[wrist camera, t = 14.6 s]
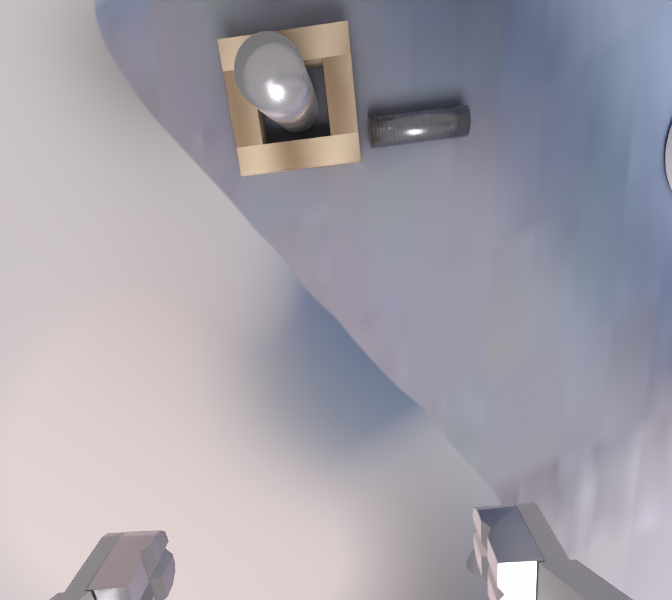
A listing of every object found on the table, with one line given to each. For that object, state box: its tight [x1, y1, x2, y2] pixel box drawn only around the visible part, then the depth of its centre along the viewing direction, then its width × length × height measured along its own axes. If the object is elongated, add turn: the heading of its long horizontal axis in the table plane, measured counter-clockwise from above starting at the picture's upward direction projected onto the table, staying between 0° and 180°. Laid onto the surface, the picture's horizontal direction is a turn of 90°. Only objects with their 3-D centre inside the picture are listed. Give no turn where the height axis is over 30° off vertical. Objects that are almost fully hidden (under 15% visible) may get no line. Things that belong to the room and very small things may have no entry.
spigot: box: [234, 31, 319, 132], centre depth 28 cm, size 4×4×12 cm
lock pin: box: [368, 105, 470, 148], centre depth 33 cm, size 8×2×2 cm, turn 97°
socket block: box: [217, 21, 361, 176], centre depth 33 cm, size 10×10×2 cm
